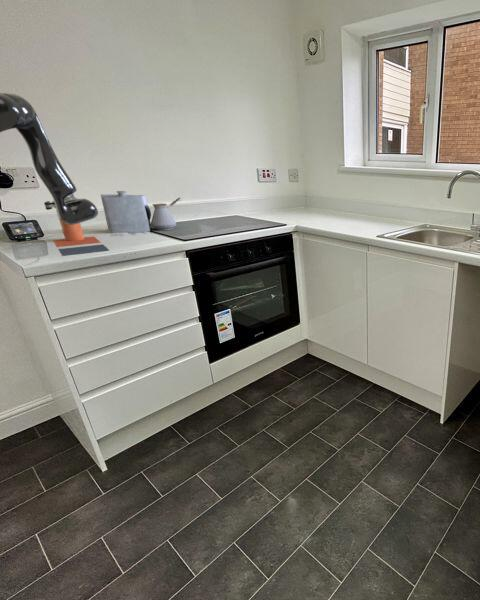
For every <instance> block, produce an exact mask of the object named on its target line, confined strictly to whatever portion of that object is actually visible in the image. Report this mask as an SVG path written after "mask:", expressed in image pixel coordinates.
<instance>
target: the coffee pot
mask: <svg viewBox="0 0 480 600" xmlns="http://www.w3.org/2000/svg"><path fill="white" fill-rule="evenodd" d="M180 199H181V197H178V198H176V199H175V200H173V201H172V202H171V203H170V204H169V205H168V204H167V203H152V206H153V208H154V210H153V214H152V216H151V220H150V223H151V228H154V229H156V230H157V231H169V230H174V228H175V227H176V226H177V221H176V220H175V219H174V217H173V215H172V214H171V213H170V211H169V208H170V207H172V206H174V205H175V204H176V203H177V202H179V201H180Z"/></svg>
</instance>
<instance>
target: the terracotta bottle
mask: <svg viewBox="0 0 480 600" xmlns="http://www.w3.org/2000/svg"><path fill="white" fill-rule="evenodd" d="M55 212H56V215H57V217H58V220H59V225H60V227H61V230H62V233H63V236H64V239H65V240H66V241H78V240H83V239H85V238H84V237H85V235H84V231H83V228H82V225H81V223H78V224H74V225H69V224H66V223H65V222H63V221H62V220H61V219H60V217H59V215H58V212H57V209H55Z"/></svg>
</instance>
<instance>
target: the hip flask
mask: <svg viewBox="0 0 480 600" xmlns="http://www.w3.org/2000/svg"><path fill="white" fill-rule="evenodd" d="M116 193H117V194H118V195H113V196H102V197H101V196H100V198H102V199H101V202H102V201H103V203H102V206H103V205H104V208H103V210H104V209H105V212H106V216H107V220H108V224H109V227H110V233H111V234H139V233H148V232H151V229H150V227H149V223H148V218H147V214H146V210H145V205H144V201H143V196H126V195H127V191H126V190H117V191H116Z"/></svg>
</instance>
